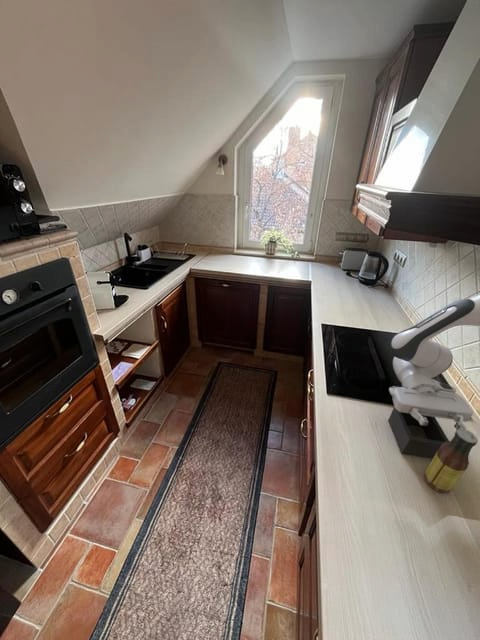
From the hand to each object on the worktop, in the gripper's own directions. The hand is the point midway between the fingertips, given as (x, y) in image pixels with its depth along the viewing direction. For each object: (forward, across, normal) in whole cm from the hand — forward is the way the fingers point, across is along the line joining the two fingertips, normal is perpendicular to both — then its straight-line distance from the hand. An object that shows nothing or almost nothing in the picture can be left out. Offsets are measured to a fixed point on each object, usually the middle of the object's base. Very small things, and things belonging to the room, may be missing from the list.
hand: (443, 426), depth 70 cm
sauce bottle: (+8, 0, +14) cm, 16 cm away
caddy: (-6, -1, +14) cm, 15 cm away
